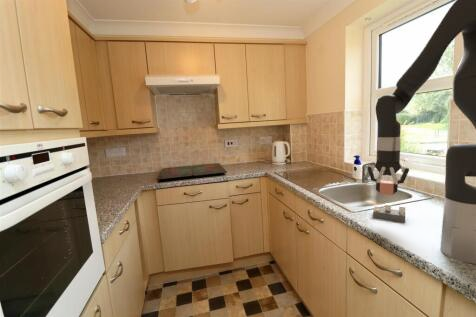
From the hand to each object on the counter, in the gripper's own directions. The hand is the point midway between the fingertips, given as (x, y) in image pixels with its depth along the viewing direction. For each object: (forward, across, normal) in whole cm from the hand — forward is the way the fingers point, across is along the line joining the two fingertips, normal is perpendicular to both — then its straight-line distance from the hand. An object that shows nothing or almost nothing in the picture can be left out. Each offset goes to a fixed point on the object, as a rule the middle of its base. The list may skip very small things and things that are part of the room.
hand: (386, 192), depth 91 cm
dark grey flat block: (+12, +1, +7) cm, 14 cm away
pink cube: (0, 0, 0) cm, 0 cm away
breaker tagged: (+9, +1, +7) cm, 12 cm away
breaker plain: (+9, +6, +7) cm, 13 cm away
